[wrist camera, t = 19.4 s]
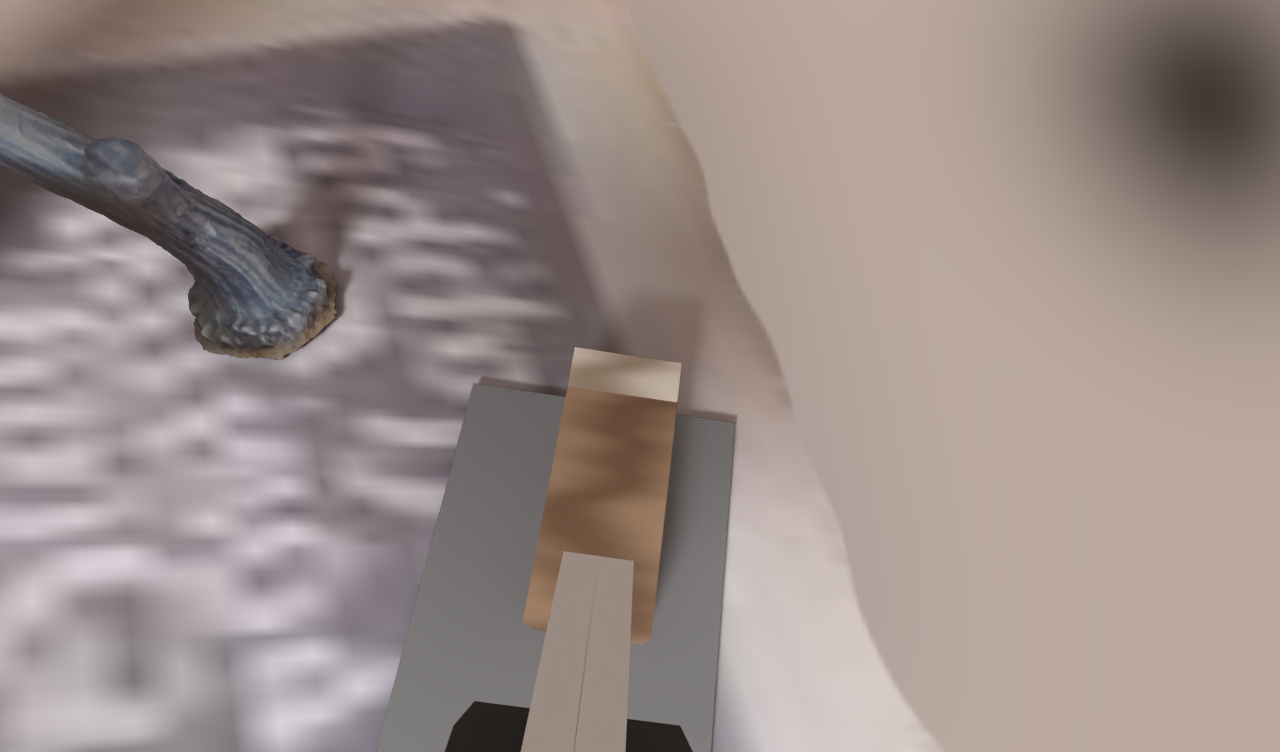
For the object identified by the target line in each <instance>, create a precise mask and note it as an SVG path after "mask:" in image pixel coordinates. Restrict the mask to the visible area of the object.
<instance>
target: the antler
mask: <svg viewBox="0 0 1280 752" xmlns="http://www.w3.org/2000/svg"><path fill="white" fill-rule="evenodd" d="M0 166H3V167H5V168H7V169H9V170H11V171H13V172H14V173H16V174H18V175H20V176H22V177H24V178H26V179H28V180H30V181H31V182H33V183H35V184H38V185H40V186H41V187H43V188H44V189H45V190H48V191H50V192H52V193H55V194H57V195H60V196H62V197H65V198H68V199H71V200H73V201H74V202H76V203H78V204H80V205H82V206H84V207H86V208H88V209H90V210H93V211H95V212H97V213H100V214H102V215H104V216H106V217H107V218H109V219H110V220H112V221H114V222H116V223H118V224H119V225H121V226H123V227H126V228H128V229H130V230H133V231H135V232H137V233H139V234H141V235H144V236H146V237H148V238H149V239H151V240H152V241H153V242H155V243H156V244H157V245H159V246H161V247H162V248H163V249H165V250H166V251H168V252H169V253H171V254H172V255H173V256H174V257H176V258H177V259H179V260H180V261H181V262H182V263H184V264H185V265H186V267H187V269H188V270H189V272H190V273H191V274H192V275H193V276H194V280H195V283H194V285H193V287H192V288H191V289H190V290H189V293H188V299H189V309H190V311H191V313H192V315H194V316H195V317H196V319H195V322H194V325H195V338H196V340H197V341H198V342H200V344H201V345H202V346H203V350H208V352H212V353H215V354H222V355H224V354H228V355H230V356H235V357H239V358H242V357H245V358H248V357H255V358H258V357H264V358H269V359H276V360H281V359H283V357H284V355H286V354H288V353H291V352H294V351H297V350H298V349H299V348H300V347H301V346H302V345H304V344H305V343H307V342H308V341H310V338H314V337H315V336H316V335H317V334H318V333H319V332H320V331H321V330H322V329H323V327H324V326H325V325H327V324H329V323H330V322H331V321H332V320H333V319H334V318H335V316H334V314H336V313H337V312H336V310H335V309H334V307H335V302H334V298H335V295H336V292H335V291H334V289H335V287H336V282H335V280H334V279H333V275H334V274H333V273H331V269H330V268H328V267H327V266H326V265H325V264H324V263H323V262H319V261H317V259H316V257H313V256H312V255H311V254H308V253H303V252H300V251H299V250H298V251H296V250H295V249H293V248H292V247H290V246H289V245H287V244H285V243H284V242H283V241H281V240H280V239H279V238H277V237H276V236H274V235H268V236H267V235H266V234H265V233H264V232H262V230H261V229H260V228H258V227H257V226H255V225H254V224H252V223H251V222H249V221H247V220H246V219H244V218H243V217H242V216H241V215H240V214H238V213H236V212H234V211H233V210H232V209H231V208H229V207H228V206H226V205H224V204H223V203H221V202H220V201H218V200H216V199H214V198H211V197H209V196H207V195H205V194H203V193H202V192H201V191H200V190H198V189H195V188H193V187H192V186H190V185H189V184H188V183H186V182H185V181H184V180H182V179H179V178H177V177H176V176H175V175H174V174H173V173H171V172H170V171H167V170H165V169H163V168H162V167H161V166H159V164H158V163H157V162H155V161H154V160H153V159H152V158H151V157H150V156H149V155H148V154H147V153H146V152H145V151H144V150H143V149H142V148H141V147H140V145H138V144H135V143H133V142H130V141H128V140H125V139H121V138H116V137H114V138H105V139H97V140H95V139H93V138H91V137H89V136H87V135H85V134H84V133H82V132H80V131H78V130H76V129H73V128H71V127H70V126H68V125H67V124H65V123H64V122H62V121H61V120H59V119H56V118H54V117H51V116H48V115H46V114H45V113H42V112H40V111H37V110H34V109H32V108H30V107H27V106H25V105H23V104H21V103H18V102H16V101H14V100H12V99H10V98H8V97H5V96H4V95H2V94H0Z"/></svg>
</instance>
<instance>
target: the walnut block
mask: <svg viewBox="0 0 1280 752" xmlns="http://www.w3.org/2000/svg"><path fill="white" fill-rule="evenodd" d="M681 364H682V363H677V362H670V361H664V360H657V359H650V358H644V357H637V356H630V355H624V354H617V353H610V352H603V351H597V350H590V349H583V348H577V347H575V350H574V355H573V361H572V366H571V371H570V376H569V381H568V387H567V392H566V397H565V402H564V408H563V413H562V418H561V423H560V429H559V434H558V439H557V444H556V449H555V455H554V460H553V465H552V470H551V476H550V481H549V486H548V491H547V496H546V502H545V507H544V512H543V517H542V523H541V528H540V533H539V538H538V544H537V549H536V554H535V559H534V564H533V570H532V575H531V580H530V585H529V591H528V596H527V601H526V606H525V611H524V617H523V621H524V622H525V623H526V624H527V625H528V626H529V627H530V628H531V629H533V630H540V631H547V626H548V622H549V617H550V612H551V608H552V603H553V598H554V594H555V589H556V584H557V579H558V575H559V570H560V565H561V561H562V556H563V551H565V552H573V553H580V554H587V555H595V556H602V557H609V558H616V559H624V560H631V561H634V568H633V591H632V614H631V637H630V643H632V644H639V645H641V644H643V643H645V642H646V641H648V640H650V639H651V635H652V626H653V617H654V608H655V599H656V590H657V581H658V572H659V563H660V554H661V545H662V536H663V527H664V518H665V509H666V499H667V490H668V481H669V472H670V463H671V454H672V445H673V436H674V427H675V418H676V409H677V400H678V391H679V382H680V373H681Z"/></svg>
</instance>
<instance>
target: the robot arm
mask: <svg viewBox="0 0 1280 752" xmlns="http://www.w3.org/2000/svg"><path fill="white" fill-rule="evenodd" d="M633 568H634V561H631V560H624V559H616V558H609V557H602V556H595V555H587V554H580V553H573V552H565V551H563V556H562V561H561V565H560V570H559V575H558V579H557V584H556V589H555V594H554V598H553V603H552V608H551V612H550V617H549V622H548V626H547V631H546V636H545V640H544V645H543V650H542V654H541V659H540V664H539V668H538V673H537V678H536V683H535V687H534V692H533V697H532V701H531V706H530V708H525V707H517V706H509V705H502V704H494V703H486V702H478V701H474V702H473V703H472V705H471V706H470V707H469V708H468V709H467V710H466V712H465V713H464V714H463V715H462V716H461V717H460V718H459V720H458V721H457V722H456V723H455V724H454V726H453V729H452V731H451V734H450V737H449V740H448V743H447V746H446V749H445V752H693V751H692V749H691V747H690V745H689V743H688V741H687V738H686V736H685V734H684V732H683V730H682V728H681V726H680V725H672V724H664V723H657V722H649V721H641V720H633V719H627V706H628V683H629V660H630V637H631V614H632V591H633Z"/></svg>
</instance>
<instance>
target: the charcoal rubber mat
mask: <svg viewBox="0 0 1280 752" xmlns="http://www.w3.org/2000/svg"><path fill="white" fill-rule="evenodd" d="M564 402H565V397H561V396H554V395H548V394H541V393H535V392H528V391H521V390H515V389H508V388H502V387H495V386H489V385H482V384H475V383H474V384H473V388H472V391H471V395H470V399H469V403H468V407H467V410H466V414H465V418H464V422H463V425H462V429H461V433H460V437H459V440H458V444H457V448H456V452H455V456H454V459H453V463H452V467H451V471H450V474H449V478H448V482H447V486H446V490H445V493H444V497H443V501H442V505H441V508H440V512H439V516H438V520H437V523H436V527H435V531H434V535H433V539H432V542H431V546H430V550H429V554H428V557H427V561H426V565H425V569H424V573H423V576H422V580H421V584H420V588H419V591H418V595H417V599H416V603H415V607H414V610H413V614H412V618H411V622H410V625H409V629H408V633H407V637H406V640H405V644H404V648H403V652H402V656H401V659H400V663H399V667H398V671H397V674H396V678H395V682H394V686H393V690H392V693H391V697H390V701H389V705H388V708H387V712H386V716H385V720H384V723H383V727H382V731H381V735H380V739H379V742H378V746H377V750H376V752H445V749H446V746H447V743H448V740H449V737H450V734H451V731H452V729H453V726H454V724H455V723H456V722H457V721H458V720H459V718H460V717H461V716H462V715H463V714H464V713H465V712H466V710H467V709H468V708H469V707H470V706H471V705H472V703H473V702H474V701H478V702H486V703H494V704H502V705H509V706H517V707H525V708H530V706H531V701H532V697H533V692H534V687H535V683H536V678H537V673H538V668H539V664H540V659H541V654H542V650H543V645H544V640H545V636H546V631H540V630H533V629H531V628H530V627H529V626H528V625H527V624H526V623H525V622H524V621H523V617H524V611H525V606H526V601H527V596H528V591H529V585H530V580H531V575H532V570H533V564H534V559H535V554H536V549H537V544H538V538H539V533H540V528H541V523H542V517H543V512H544V507H545V502H546V496H547V491H548V486H549V481H550V476H551V470H552V465H553V460H554V455H555V449H556V444H557V439H558V434H559V429H560V423H561V418H562V413H563V408H564ZM734 430H735V423H732V422H725V421H719V420H712V419H706V418H699V417H692V416H686V415H679V414H676V418H675V427H674V436H673V445H672V454H671V463H670V472H669V481H668V490H667V499H666V509H665V518H664V527H663V536H662V545H661V554H660V563H659V572H658V581H657V590H656V599H655V608H654V617H653V626H652V635H651V639H650V640H648V641H646V642H645V643H643V644H641V645H639V644H632V643H630V660H629V683H628V706H627V719H633V720H641V721H649V722H657V723H664V724H672V725H680V726H681V728H682V730H683V732H684V734H685V736H686V738H687V741H688V743H689V745H690V747H691V749H692V751H693V752H711V742H712V729H713V715H714V701H715V688H716V674H717V661H718V647H719V633H720V620H721V606H722V593H723V579H724V565H725V552H726V538H727V525H728V511H729V497H730V484H731V470H732V457H733V443H734Z"/></svg>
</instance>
